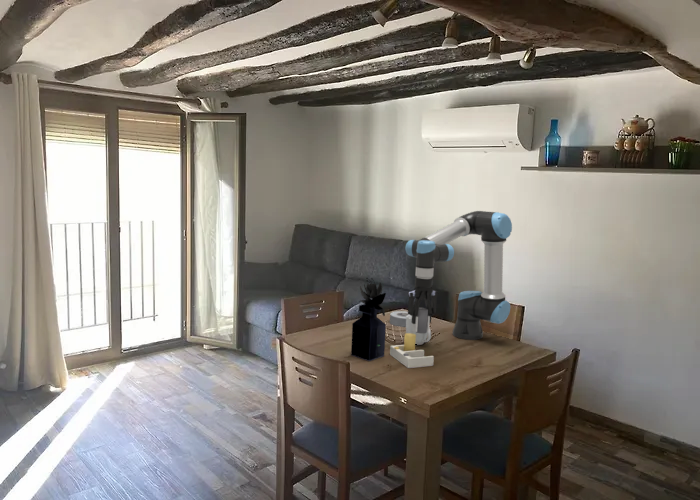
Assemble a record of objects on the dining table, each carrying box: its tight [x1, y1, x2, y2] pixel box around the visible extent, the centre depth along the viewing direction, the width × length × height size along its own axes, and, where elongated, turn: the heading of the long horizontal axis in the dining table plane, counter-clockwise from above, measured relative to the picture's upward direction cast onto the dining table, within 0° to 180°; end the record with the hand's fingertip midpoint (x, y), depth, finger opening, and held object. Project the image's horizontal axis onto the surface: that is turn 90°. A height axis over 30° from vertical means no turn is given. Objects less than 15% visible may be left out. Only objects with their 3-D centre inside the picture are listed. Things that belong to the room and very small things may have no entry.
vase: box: [350, 277, 387, 362], centre depth 240 cm, size 14×12×35 cm
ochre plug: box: [403, 332, 416, 351], centre depth 243 cm, size 5×5×10 cm
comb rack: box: [389, 344, 435, 369], centre depth 239 cm, size 12×18×5 cm, turn 21°
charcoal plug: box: [416, 307, 428, 333], centre depth 233 cm, size 5×5×10 cm
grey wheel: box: [389, 310, 409, 328], centre depth 298 cm, size 15×15×5 cm
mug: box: [405, 315, 432, 346], centre depth 261 cm, size 15×11×13 cm
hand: (420, 330), depth 234 cm, fingers closed on charcoal plug, 5 cm apart
